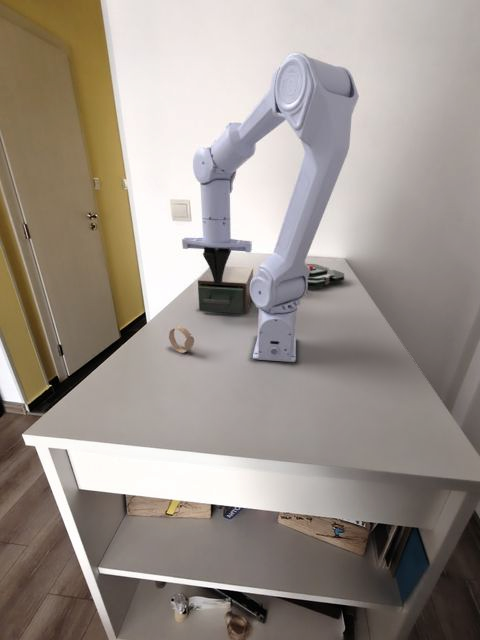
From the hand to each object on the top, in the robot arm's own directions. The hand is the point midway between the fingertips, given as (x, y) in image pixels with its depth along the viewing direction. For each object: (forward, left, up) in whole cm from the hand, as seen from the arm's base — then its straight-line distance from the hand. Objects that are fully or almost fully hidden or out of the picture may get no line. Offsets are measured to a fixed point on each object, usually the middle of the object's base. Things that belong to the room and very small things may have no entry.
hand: (218, 282), depth 74 cm
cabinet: (+10, 0, -8) cm, 13 cm away
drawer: (+6, 0, -8) cm, 9 cm away
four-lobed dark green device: (+34, -22, -9) cm, 42 cm away
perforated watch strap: (-17, +4, -9) cm, 19 cm away
